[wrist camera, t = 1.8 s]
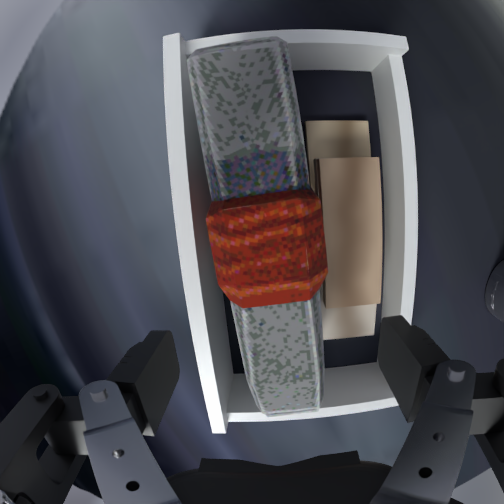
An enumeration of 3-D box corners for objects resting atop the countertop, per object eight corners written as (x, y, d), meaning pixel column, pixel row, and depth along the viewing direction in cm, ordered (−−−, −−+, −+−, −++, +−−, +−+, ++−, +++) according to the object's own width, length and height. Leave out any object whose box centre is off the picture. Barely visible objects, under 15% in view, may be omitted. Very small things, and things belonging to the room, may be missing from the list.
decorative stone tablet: (168, 43, 13) (256, 461, 22) (295, 21, 12) (333, 453, 21) (220, 98, 31) (261, 339, 40) (280, 89, 31) (310, 333, 40)
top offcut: (372, 158, 30) (378, 157, 28) (374, 296, 33) (380, 303, 31) (316, 159, 30) (319, 158, 28) (322, 301, 33) (325, 308, 31)
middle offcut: (370, 158, 31) (376, 157, 29) (369, 327, 36) (373, 334, 34) (313, 159, 32) (316, 158, 30) (318, 332, 36) (320, 340, 34)
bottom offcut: (362, 123, 32) (367, 120, 30) (366, 318, 38) (370, 325, 36) (303, 124, 33) (305, 121, 31) (312, 323, 38) (314, 330, 36)
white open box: (380, 61, 30) (413, 29, 20) (385, 369, 39) (409, 414, 29) (189, 69, 31) (163, 36, 21) (223, 382, 40) (212, 432, 31)
